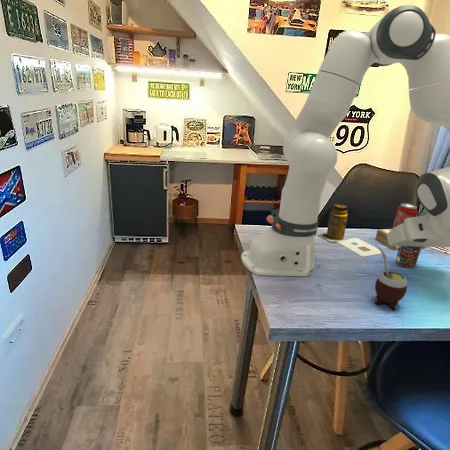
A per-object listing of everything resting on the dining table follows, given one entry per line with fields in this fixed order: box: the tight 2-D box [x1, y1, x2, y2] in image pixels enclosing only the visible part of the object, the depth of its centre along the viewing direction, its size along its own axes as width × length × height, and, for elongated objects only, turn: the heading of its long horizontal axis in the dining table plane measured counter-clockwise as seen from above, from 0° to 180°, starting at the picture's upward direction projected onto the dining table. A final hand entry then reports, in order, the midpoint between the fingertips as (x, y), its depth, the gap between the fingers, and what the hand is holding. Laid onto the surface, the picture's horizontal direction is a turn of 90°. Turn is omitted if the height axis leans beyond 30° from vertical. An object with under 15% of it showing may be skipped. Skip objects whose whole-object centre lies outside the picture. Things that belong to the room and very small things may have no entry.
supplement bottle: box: [395, 246, 422, 269], centre depth 109 cm, size 6×6×11 cm
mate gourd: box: [374, 243, 408, 312], centre depth 86 cm, size 8×8×15 cm
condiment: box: [318, 203, 350, 243], centre depth 126 cm, size 7×8×12 cm
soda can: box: [392, 202, 418, 229], centre depth 133 cm, size 7×7×12 cm
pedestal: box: [374, 228, 398, 251], centre depth 125 cm, size 9×9×4 cm
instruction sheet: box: [335, 237, 386, 258], centre depth 121 cm, size 10×13×1 cm
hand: (409, 246), depth 109 cm, fingers closed on supplement bottle, 6 cm apart
